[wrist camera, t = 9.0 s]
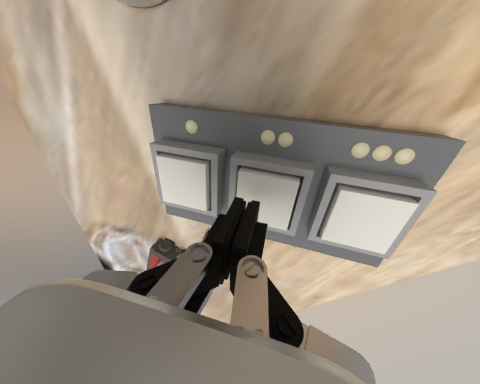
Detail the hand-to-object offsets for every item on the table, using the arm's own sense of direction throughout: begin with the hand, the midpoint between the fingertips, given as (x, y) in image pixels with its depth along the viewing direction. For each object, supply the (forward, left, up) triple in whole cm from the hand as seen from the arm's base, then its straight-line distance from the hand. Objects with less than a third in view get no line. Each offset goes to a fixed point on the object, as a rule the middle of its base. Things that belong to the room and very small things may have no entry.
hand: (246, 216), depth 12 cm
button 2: (+1, +1, -6) cm, 6 cm away
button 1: (+1, -7, -6) cm, 9 cm away
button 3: (+1, +9, -6) cm, 11 cm away
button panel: (+1, +1, -9) cm, 9 cm away
